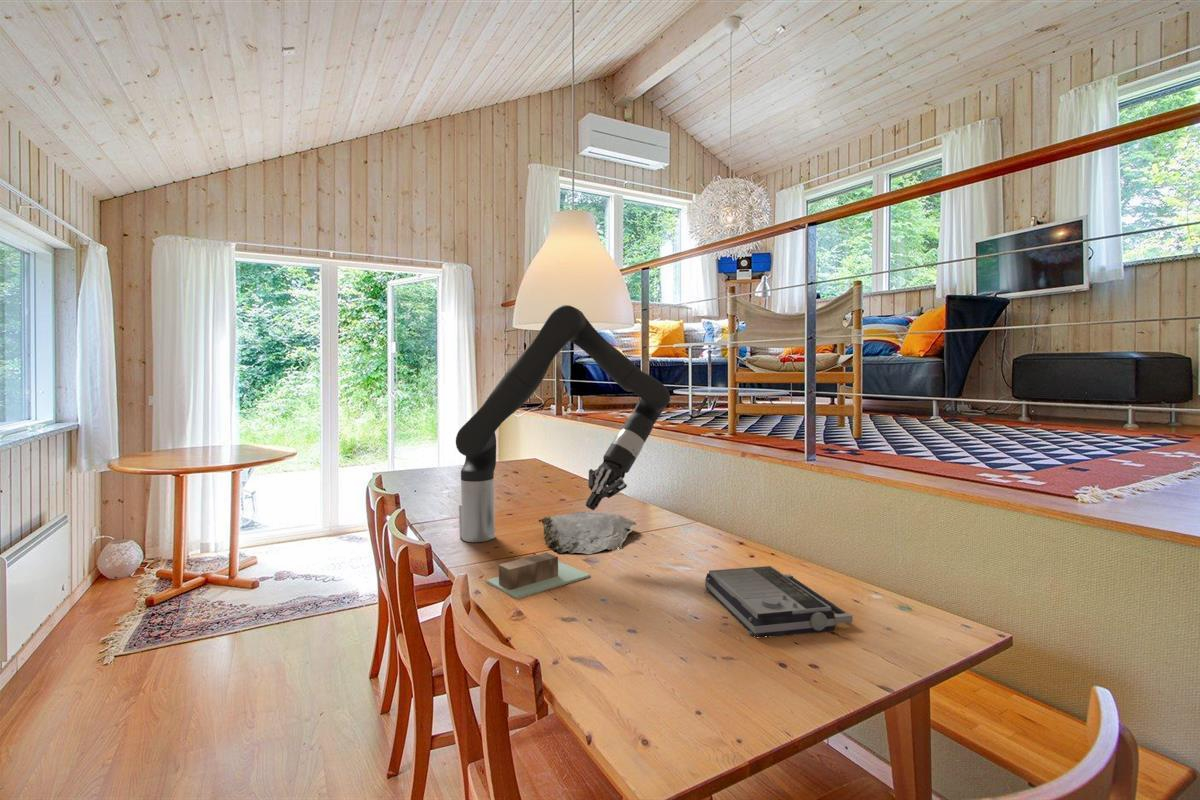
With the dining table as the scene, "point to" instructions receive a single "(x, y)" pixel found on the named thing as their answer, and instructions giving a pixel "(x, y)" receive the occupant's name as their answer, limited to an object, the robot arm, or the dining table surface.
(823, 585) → the dining table surface
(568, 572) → the mat
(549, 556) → the walnut block
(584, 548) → the stone fragment
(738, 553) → the dining table surface
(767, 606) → the radio
